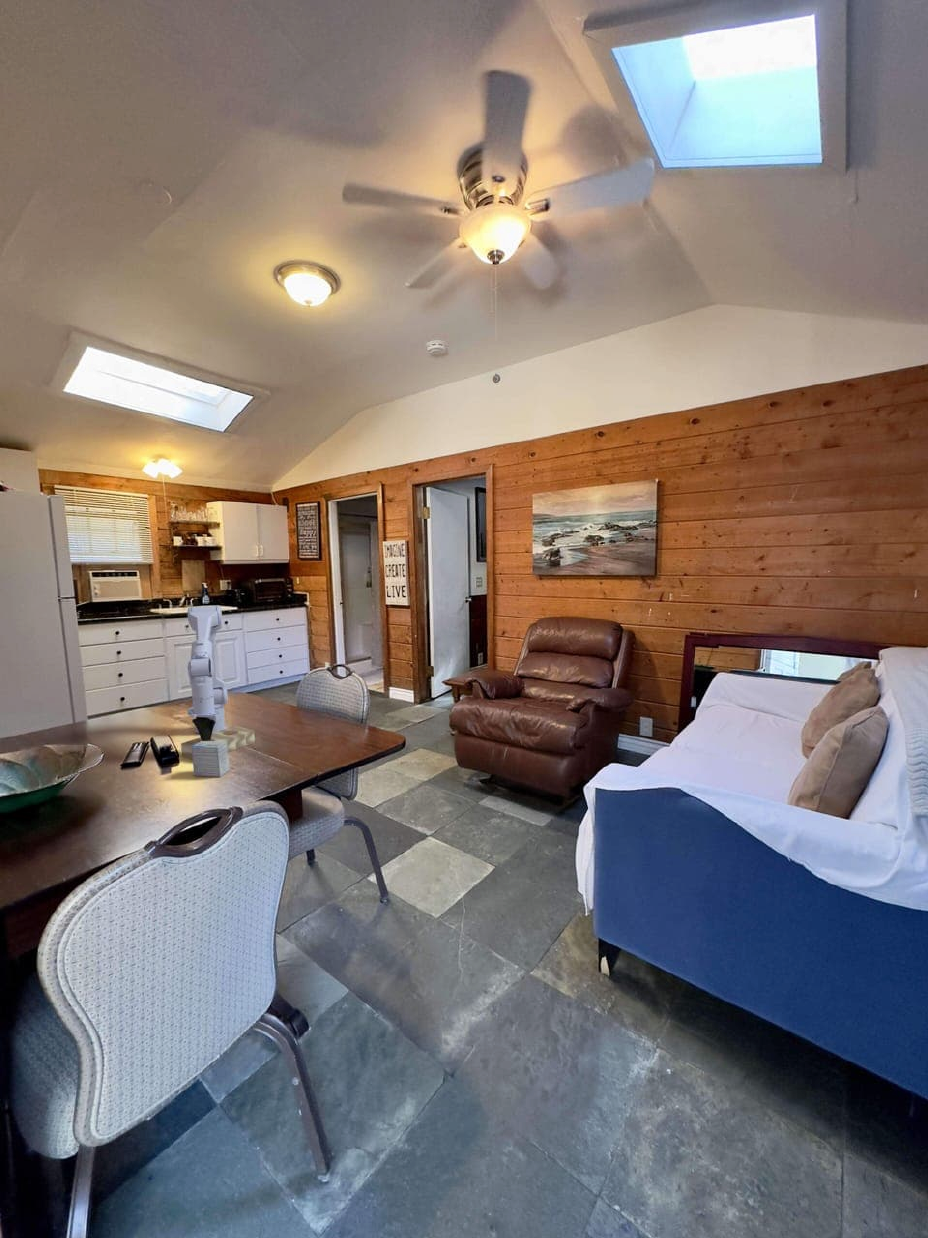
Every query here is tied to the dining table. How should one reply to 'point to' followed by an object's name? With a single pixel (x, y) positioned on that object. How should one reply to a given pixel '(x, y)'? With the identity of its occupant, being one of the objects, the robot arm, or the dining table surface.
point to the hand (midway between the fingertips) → (206, 740)
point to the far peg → (230, 732)
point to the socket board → (223, 740)
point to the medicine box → (210, 758)
